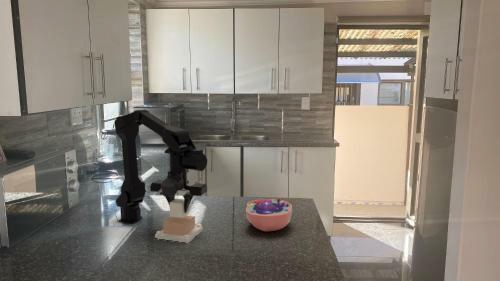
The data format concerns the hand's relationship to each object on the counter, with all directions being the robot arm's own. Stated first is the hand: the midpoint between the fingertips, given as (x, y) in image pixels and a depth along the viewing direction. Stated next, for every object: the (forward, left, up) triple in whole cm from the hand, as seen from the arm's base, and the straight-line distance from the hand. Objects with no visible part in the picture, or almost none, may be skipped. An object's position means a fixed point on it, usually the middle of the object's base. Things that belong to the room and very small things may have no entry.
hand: (179, 212), depth 127 cm
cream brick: (0, 0, -1) cm, 1 cm away
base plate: (0, 0, -8) cm, 8 cm away
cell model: (+28, +15, -8) cm, 33 cm away
